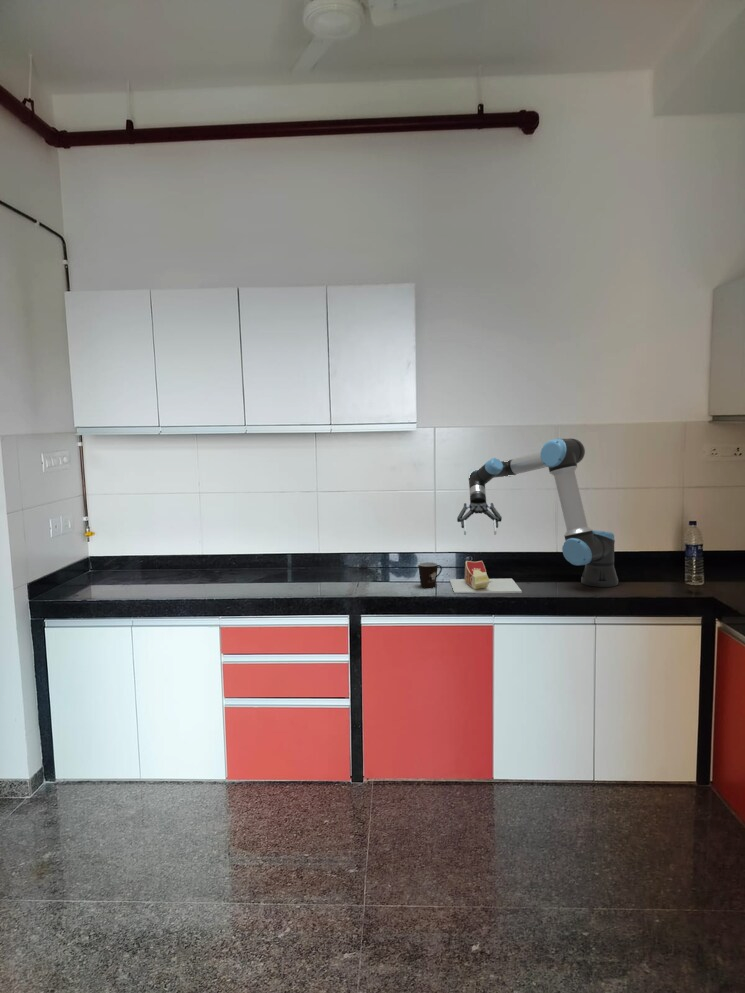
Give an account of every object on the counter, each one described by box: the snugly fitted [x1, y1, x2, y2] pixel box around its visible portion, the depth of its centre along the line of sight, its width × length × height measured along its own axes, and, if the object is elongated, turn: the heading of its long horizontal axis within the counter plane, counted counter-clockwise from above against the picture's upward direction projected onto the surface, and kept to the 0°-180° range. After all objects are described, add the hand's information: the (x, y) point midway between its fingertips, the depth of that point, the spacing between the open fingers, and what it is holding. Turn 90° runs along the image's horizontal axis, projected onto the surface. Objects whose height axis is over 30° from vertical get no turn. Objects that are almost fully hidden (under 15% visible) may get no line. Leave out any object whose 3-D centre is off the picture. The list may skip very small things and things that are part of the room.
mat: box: [449, 578, 523, 594], centre depth 279 cm, size 28×23×1 cm
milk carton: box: [464, 560, 492, 589], centre depth 276 cm, size 9×9×20 cm
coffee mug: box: [417, 561, 443, 589], centre depth 281 cm, size 12×9×10 cm
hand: (480, 533), depth 292 cm, fingers open, 13 cm apart
